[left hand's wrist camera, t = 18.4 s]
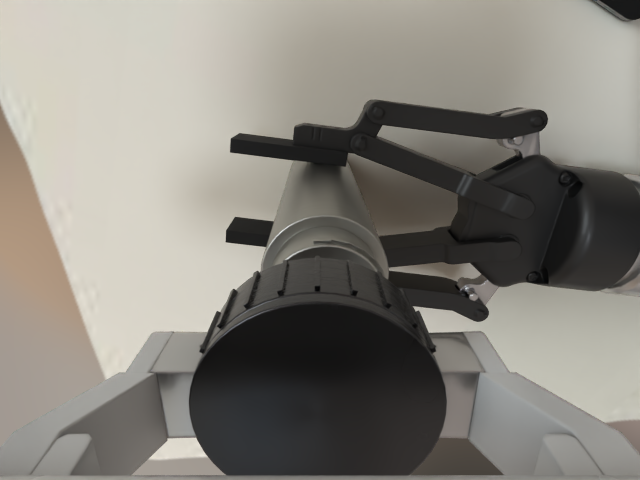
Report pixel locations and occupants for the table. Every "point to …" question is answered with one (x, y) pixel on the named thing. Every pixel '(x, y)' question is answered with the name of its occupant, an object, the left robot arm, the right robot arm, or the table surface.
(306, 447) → the lid
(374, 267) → the jar
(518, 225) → the right robot arm
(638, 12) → the smartphone
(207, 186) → the table surface
